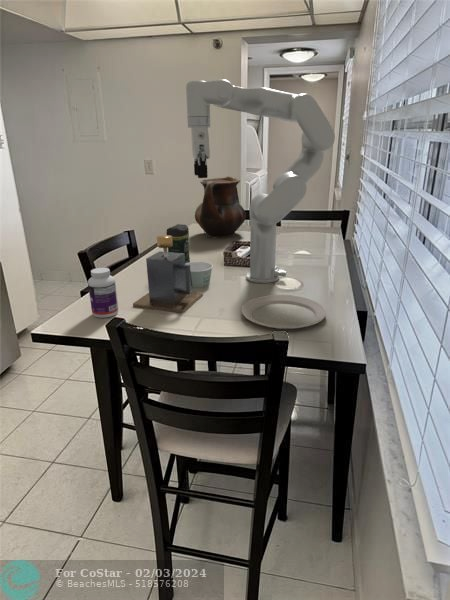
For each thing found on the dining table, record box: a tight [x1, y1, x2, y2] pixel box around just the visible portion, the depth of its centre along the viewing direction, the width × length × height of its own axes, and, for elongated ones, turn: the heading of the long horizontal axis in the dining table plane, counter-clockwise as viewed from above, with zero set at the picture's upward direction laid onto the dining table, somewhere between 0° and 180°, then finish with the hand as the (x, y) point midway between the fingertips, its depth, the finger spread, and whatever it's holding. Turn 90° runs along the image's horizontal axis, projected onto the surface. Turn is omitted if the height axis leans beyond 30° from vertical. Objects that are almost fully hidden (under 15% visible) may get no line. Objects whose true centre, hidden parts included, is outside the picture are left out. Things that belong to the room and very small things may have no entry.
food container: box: [185, 261, 214, 288], centre depth 158 cm, size 12×12×6 cm
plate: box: [240, 294, 327, 330], centre depth 130 cm, size 26×26×2 cm
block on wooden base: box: [132, 250, 204, 314], centre depth 140 cm, size 18×16×16 cm
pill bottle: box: [87, 267, 119, 319], centre depth 130 cm, size 8×8×14 cm
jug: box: [194, 175, 247, 239], centre depth 227 cm, size 32×28×30 cm
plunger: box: [156, 234, 173, 257], centre depth 138 cm, size 6×6×20 cm
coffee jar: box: [165, 223, 191, 264], centre depth 171 cm, size 10×8×19 cm
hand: (200, 176), depth 146 cm, fingers open, 9 cm apart
